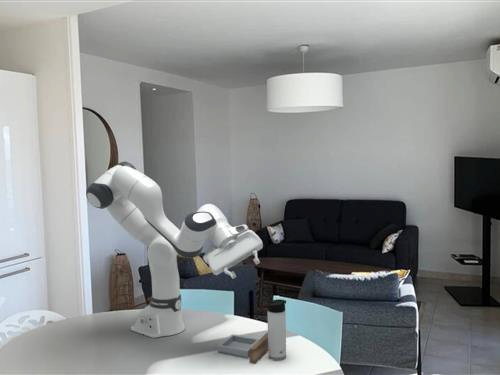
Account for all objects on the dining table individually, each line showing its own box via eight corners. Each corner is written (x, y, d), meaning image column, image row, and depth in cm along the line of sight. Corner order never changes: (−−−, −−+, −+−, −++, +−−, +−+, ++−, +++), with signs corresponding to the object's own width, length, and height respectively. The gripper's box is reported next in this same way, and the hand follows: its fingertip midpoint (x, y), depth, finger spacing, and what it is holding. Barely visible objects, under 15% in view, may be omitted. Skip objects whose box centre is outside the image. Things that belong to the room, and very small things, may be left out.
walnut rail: (249, 362, 150) (249, 348, 150) (270, 342, 166) (270, 329, 166) (255, 363, 149) (254, 349, 149) (275, 343, 165) (275, 330, 165)
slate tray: (217, 352, 159) (217, 345, 158) (232, 340, 168) (232, 334, 168) (247, 358, 153) (247, 351, 153) (260, 346, 163) (260, 339, 163)
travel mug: (286, 361, 151) (285, 303, 149) (267, 360, 152) (265, 303, 151) (288, 353, 157) (287, 298, 155) (269, 352, 158) (268, 297, 157)
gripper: (199, 251, 153) (218, 282, 146) (249, 222, 158) (270, 251, 151) (202, 259, 158) (221, 289, 151) (251, 230, 163) (271, 259, 156)
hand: (246, 270), depth 151 cm, fingers open, 8 cm apart
